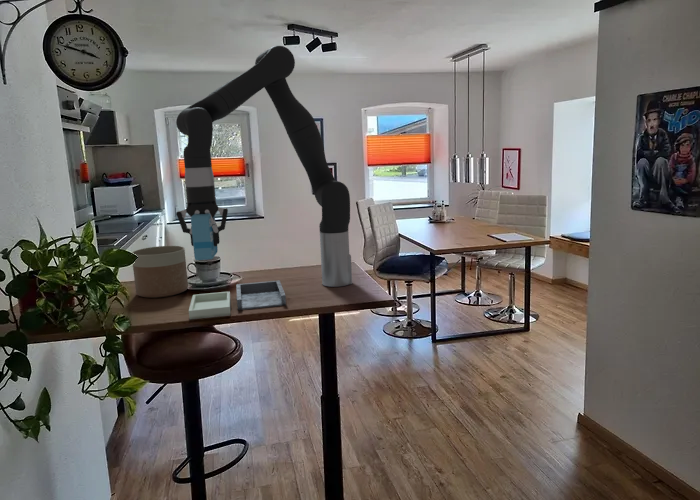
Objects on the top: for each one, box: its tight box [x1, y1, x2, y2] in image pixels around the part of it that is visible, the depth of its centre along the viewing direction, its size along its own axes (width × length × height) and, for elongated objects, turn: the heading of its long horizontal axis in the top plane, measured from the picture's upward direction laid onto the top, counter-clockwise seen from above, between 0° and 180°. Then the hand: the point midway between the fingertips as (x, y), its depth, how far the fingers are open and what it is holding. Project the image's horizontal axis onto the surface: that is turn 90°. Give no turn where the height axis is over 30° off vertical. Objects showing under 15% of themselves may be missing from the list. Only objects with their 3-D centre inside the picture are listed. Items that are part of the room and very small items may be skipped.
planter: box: [131, 245, 189, 299], centre depth 167 cm, size 16×16×14 cm
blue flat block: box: [190, 214, 218, 261], centre depth 144 cm, size 12×4×12 cm, turn 6°
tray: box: [188, 290, 231, 320], centre depth 148 cm, size 11×17×2 cm, turn 13°
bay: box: [235, 279, 287, 311], centre depth 155 cm, size 13×18×3 cm
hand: (205, 246), depth 145 cm, fingers closed on blue flat block, 4 cm apart
